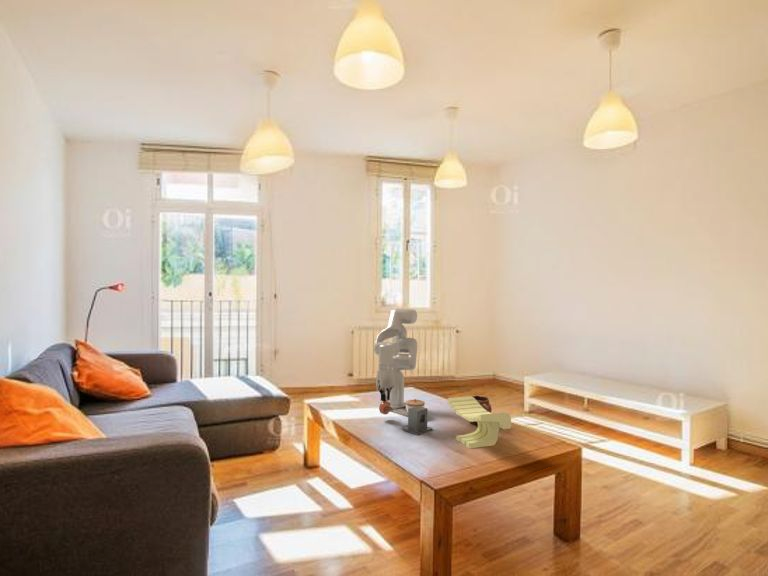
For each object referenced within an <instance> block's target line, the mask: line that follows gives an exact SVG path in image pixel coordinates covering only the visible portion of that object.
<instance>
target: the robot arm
mask: <svg viewBox="0 0 768 576" xmlns="http://www.w3.org/2000/svg"><path fill="white" fill-rule="evenodd" d="M417 318H418V313H417V310H416V309H413V308H412V309H411V308H410V309H406V308H395V309H391V310H390V311H389V317H388V321H387V323H386V324H387V325H386V327H385V328H384V329H383V330H381V331H380V332H379V333H378V334H377V336H376V338H375V341H374V345H373V352H374V353H375V355H377V356H378V370H377V372H376V378H375V388H376V391H378V392H379V394H380V401H381V402H383V401H386V394H385V390H388V393H387V402H389V403H390V404H391V407H392V408H396V409H399V408H400V409H402V408H406V401H405V376H404V374H403V372H402V371H414V370H415V369H416V365H417V358H418V357H417V356H418V341H417V339H416V338H414V337H407V336H408V335H407V334H408V330H407V329H406V326H404V325H405V324H407V325H409V324H410V325H412V324H414V323H416V322H417ZM388 339H391V340H392V341H391V342H389V341H388V342H387V341H386V340H388Z"/></svg>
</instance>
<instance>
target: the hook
mask: <svg viewBox="0 0 768 576" xmlns="http://www.w3.org/2000/svg"><path fill="white" fill-rule="evenodd" d="M387 393H388V390H386V389H385V394H386V401H381V402H380V404H379V408H378V410H379V413H380V414H382V415H388V414H389V413H390V412H391V413H393V414H398V415H400V416H403V417H407V418H408V412H407V410H406V411H405V410H402V409H399V408H392V407H391V404H390V403H389V402H387Z"/></svg>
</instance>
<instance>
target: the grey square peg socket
mask: <svg viewBox="0 0 768 576" xmlns="http://www.w3.org/2000/svg"><path fill="white" fill-rule="evenodd" d="M407 420H408V421H407V426H405V427H403V428H402V431H404V432H406V433H409V434H411V435H415V436H419V435H421V434H425V433H428V432H431V431H433V430H434V428H433V427H430V426H428V408H426V407H425V406H424V407H420V406H417V407H414V408H410V409H408V417H407Z"/></svg>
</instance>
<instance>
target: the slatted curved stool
mask: <svg viewBox="0 0 768 576" xmlns="http://www.w3.org/2000/svg"><path fill="white" fill-rule="evenodd" d="M447 404H448V405H450V408H452V410H453V412H455V415H457V416H459V417H461V418H462V419H464V420H466V421H468V422H469V421H470V422H475V421H477V423H478V425H477V428H476V430H475V431H472V432H470V433H466V434H465V433H464V434H460V435H459V434H458V435H456V437H455V440H456V441H458V442H459V443H461V444H462V445H464V446H466V447H467V448H469V449H476V448H483V447H485V448H486V447H491V446H494V445H495V446H496V444H497V441H498V440H499V439H498V438H499V431H500V428H501V429H502V430H507V429H511V427H512V416H511V415H510V414H509V412H506V411H504V412H495V413H492V412H491V413H490V412H488V411H487V410H485V409H484V408H483V407H482V406H481V405H480V404H479V402H477V400H476V399H475V398H473V397H472V395H467V396H456V397H447Z"/></svg>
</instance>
